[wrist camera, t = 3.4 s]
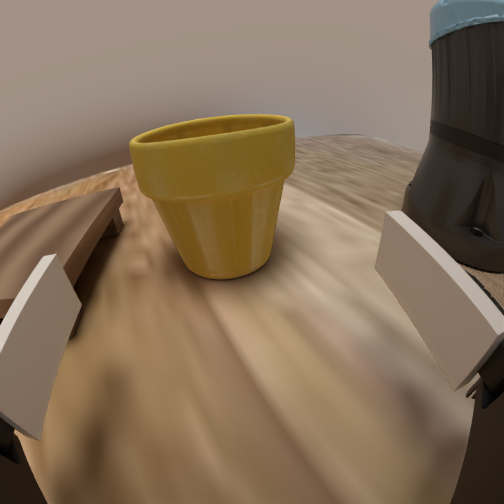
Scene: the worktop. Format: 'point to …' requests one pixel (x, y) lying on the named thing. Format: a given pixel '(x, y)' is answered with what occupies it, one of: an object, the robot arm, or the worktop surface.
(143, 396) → the worktop surface
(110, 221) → the walnut stand
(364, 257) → the worktop surface
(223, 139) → the plant pot
